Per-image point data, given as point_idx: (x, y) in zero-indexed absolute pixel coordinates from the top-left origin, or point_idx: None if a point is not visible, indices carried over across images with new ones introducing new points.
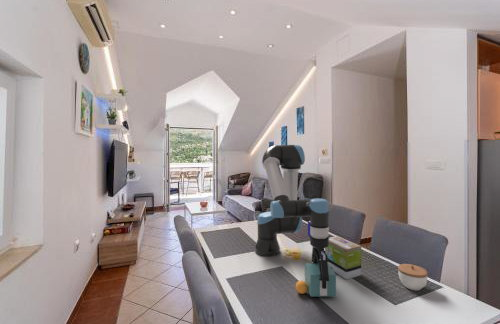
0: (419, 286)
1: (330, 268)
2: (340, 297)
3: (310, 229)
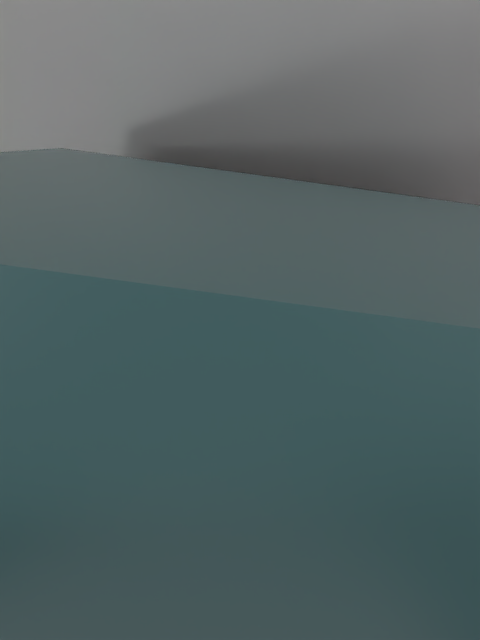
0: None
1: (264, 365)
2: (435, 94)
3: None
